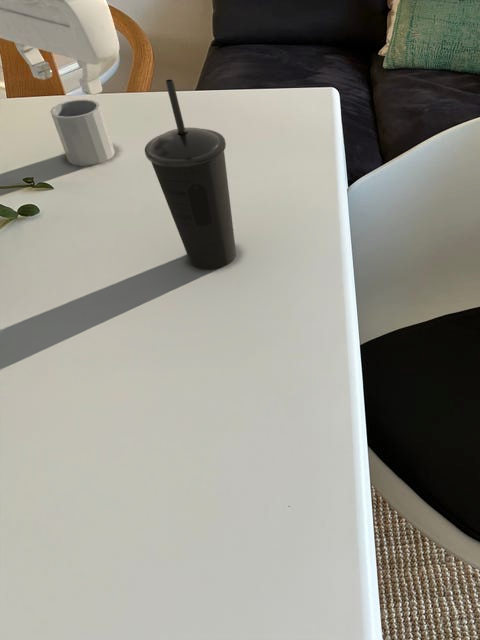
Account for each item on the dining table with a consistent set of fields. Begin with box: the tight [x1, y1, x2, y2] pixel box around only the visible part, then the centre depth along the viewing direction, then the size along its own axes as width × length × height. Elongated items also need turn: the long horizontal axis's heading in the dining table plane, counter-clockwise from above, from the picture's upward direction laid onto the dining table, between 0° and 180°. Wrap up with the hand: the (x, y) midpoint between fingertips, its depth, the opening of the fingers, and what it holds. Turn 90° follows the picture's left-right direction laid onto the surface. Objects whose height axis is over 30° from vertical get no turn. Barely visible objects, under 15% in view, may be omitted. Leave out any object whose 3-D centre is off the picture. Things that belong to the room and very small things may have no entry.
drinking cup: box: [144, 78, 237, 271], centre depth 79 cm, size 8×8×20 cm
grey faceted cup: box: [49, 98, 116, 167], centre depth 102 cm, size 6×6×7 cm
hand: (68, 85), depth 97 cm, fingers open, 8 cm apart
